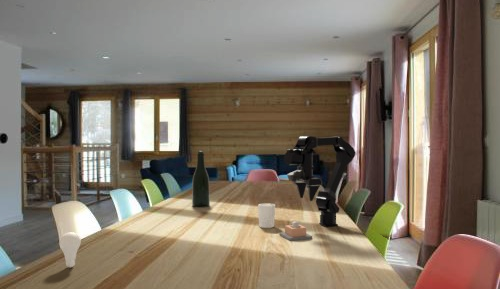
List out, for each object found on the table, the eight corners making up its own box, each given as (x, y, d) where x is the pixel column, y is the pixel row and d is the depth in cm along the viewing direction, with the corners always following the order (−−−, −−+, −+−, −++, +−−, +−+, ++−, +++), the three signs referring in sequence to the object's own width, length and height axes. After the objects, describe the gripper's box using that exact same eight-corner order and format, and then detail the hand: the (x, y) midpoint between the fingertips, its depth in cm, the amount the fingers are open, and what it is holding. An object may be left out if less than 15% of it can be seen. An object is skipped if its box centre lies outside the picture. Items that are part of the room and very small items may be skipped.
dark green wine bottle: (213, 205, 241) (212, 150, 241) (202, 207, 233) (201, 151, 232) (199, 203, 247) (199, 150, 247) (188, 206, 238) (188, 151, 238)
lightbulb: (64, 264, 127) (63, 230, 127) (83, 264, 128) (83, 229, 128) (56, 270, 121) (56, 234, 121) (77, 270, 122) (76, 234, 122)
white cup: (273, 228, 177) (273, 206, 177) (256, 228, 179) (256, 205, 179) (276, 225, 185) (276, 203, 185) (259, 224, 186) (259, 203, 186)
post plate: (301, 233, 169) (301, 219, 169) (312, 238, 159) (312, 223, 159) (279, 235, 165) (279, 220, 165) (289, 240, 156) (289, 225, 156)
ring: (299, 232, 166) (299, 224, 166) (306, 235, 160) (306, 227, 160) (285, 233, 164) (285, 225, 164) (291, 236, 158) (291, 228, 158)
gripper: (280, 163, 183) (281, 197, 183) (298, 166, 165) (299, 203, 166) (302, 163, 187) (302, 196, 187) (322, 165, 169) (322, 202, 169)
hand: (306, 199), depth 177 cm, fingers open, 9 cm apart
